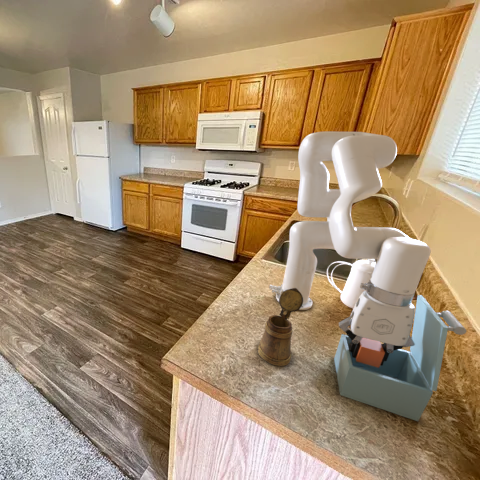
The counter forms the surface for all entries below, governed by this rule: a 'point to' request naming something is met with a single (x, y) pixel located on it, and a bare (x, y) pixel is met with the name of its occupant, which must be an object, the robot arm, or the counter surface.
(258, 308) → the counter surface
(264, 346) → the wooden mug
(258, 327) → the counter surface
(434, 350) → the lid
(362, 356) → the block
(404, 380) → the chest
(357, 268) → the coffeepot
